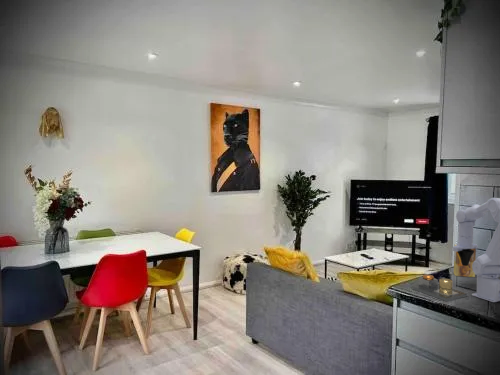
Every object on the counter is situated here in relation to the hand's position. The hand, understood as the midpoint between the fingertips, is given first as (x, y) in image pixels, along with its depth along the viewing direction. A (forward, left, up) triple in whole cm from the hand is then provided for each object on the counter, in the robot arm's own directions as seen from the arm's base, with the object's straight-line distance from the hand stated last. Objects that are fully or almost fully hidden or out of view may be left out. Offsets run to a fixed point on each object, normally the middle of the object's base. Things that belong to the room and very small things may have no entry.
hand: (464, 265), depth 170 cm
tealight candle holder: (+4, +19, -8) cm, 21 cm away
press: (-2, +19, -9) cm, 21 cm away
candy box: (+10, -14, -10) cm, 20 cm away
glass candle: (-5, +19, -8) cm, 21 cm away
